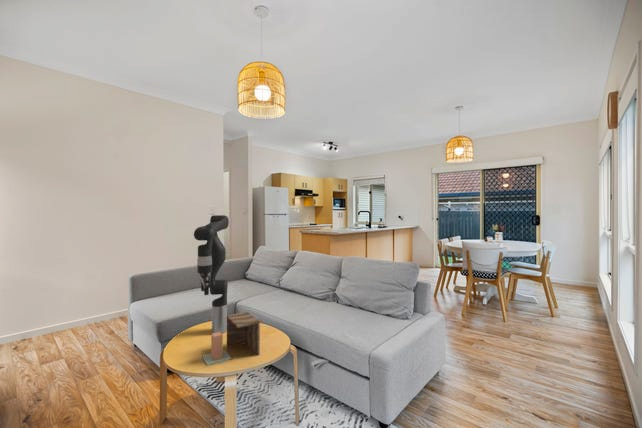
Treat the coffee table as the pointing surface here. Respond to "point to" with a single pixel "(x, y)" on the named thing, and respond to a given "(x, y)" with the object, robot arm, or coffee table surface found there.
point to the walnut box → (243, 331)
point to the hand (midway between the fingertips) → (204, 292)
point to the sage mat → (209, 359)
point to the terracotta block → (216, 345)
